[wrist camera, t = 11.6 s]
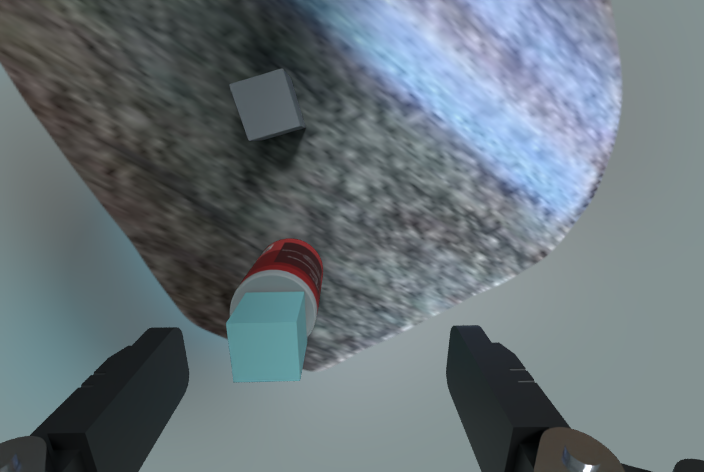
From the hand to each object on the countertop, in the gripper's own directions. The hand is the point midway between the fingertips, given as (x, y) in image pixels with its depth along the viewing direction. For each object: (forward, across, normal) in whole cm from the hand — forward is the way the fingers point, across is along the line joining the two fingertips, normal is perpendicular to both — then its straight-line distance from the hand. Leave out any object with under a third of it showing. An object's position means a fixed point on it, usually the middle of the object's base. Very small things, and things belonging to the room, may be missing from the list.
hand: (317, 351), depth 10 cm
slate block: (+29, +6, -8) cm, 31 cm away
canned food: (+28, +5, +10) cm, 31 cm away
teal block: (+17, +5, +10) cm, 20 cm away
